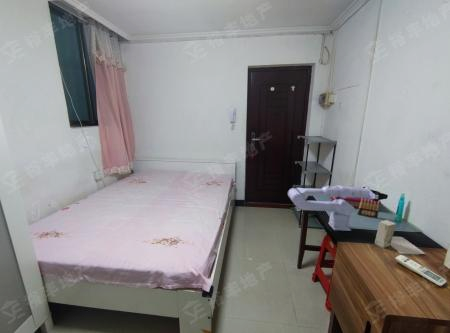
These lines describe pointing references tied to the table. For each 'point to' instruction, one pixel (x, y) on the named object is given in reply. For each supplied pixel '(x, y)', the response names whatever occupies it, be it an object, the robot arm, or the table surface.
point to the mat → (404, 246)
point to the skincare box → (385, 233)
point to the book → (354, 201)
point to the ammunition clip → (368, 208)
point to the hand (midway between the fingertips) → (381, 194)
